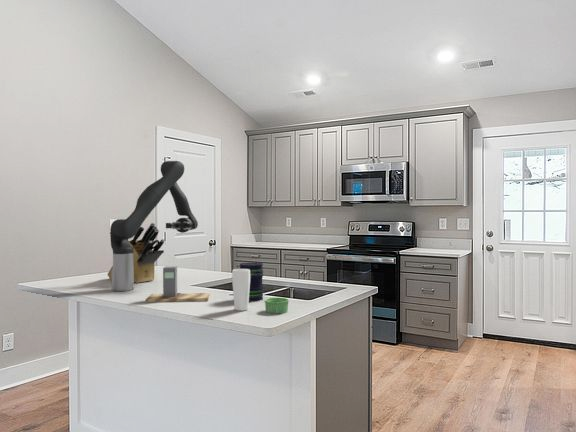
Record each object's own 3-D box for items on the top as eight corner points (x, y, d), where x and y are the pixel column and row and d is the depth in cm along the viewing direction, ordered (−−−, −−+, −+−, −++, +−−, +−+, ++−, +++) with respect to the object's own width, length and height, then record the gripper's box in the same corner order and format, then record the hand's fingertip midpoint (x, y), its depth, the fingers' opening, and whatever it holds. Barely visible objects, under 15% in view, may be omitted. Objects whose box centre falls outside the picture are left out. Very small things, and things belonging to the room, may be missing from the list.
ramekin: (259, 312, 167) (259, 300, 167) (273, 308, 175) (273, 296, 175) (280, 315, 162) (280, 303, 162) (293, 310, 170) (293, 298, 170)
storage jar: (254, 302, 185) (254, 265, 185) (234, 300, 190) (234, 264, 190) (267, 298, 194) (267, 263, 193) (248, 296, 198) (248, 262, 198)
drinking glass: (236, 312, 167) (236, 271, 167) (229, 308, 173) (229, 269, 173) (253, 310, 170) (253, 270, 170) (246, 307, 176) (246, 268, 176)
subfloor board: (145, 302, 186) (145, 298, 186) (151, 296, 198) (151, 293, 198) (207, 301, 188) (207, 297, 188) (209, 295, 200) (209, 292, 200)
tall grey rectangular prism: (163, 297, 190) (163, 268, 189) (165, 294, 195) (165, 266, 195) (175, 296, 190) (175, 268, 190) (177, 294, 195) (177, 266, 195)
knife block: (148, 285, 229) (148, 223, 229) (106, 279, 249) (106, 222, 249) (166, 282, 238) (166, 223, 238) (124, 277, 258) (124, 222, 258)
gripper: (169, 217, 234) (163, 218, 217) (197, 217, 235) (194, 218, 219) (169, 232, 234) (163, 233, 218) (197, 232, 235) (194, 233, 219)
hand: (179, 226), depth 218 cm, fingers open, 8 cm apart
